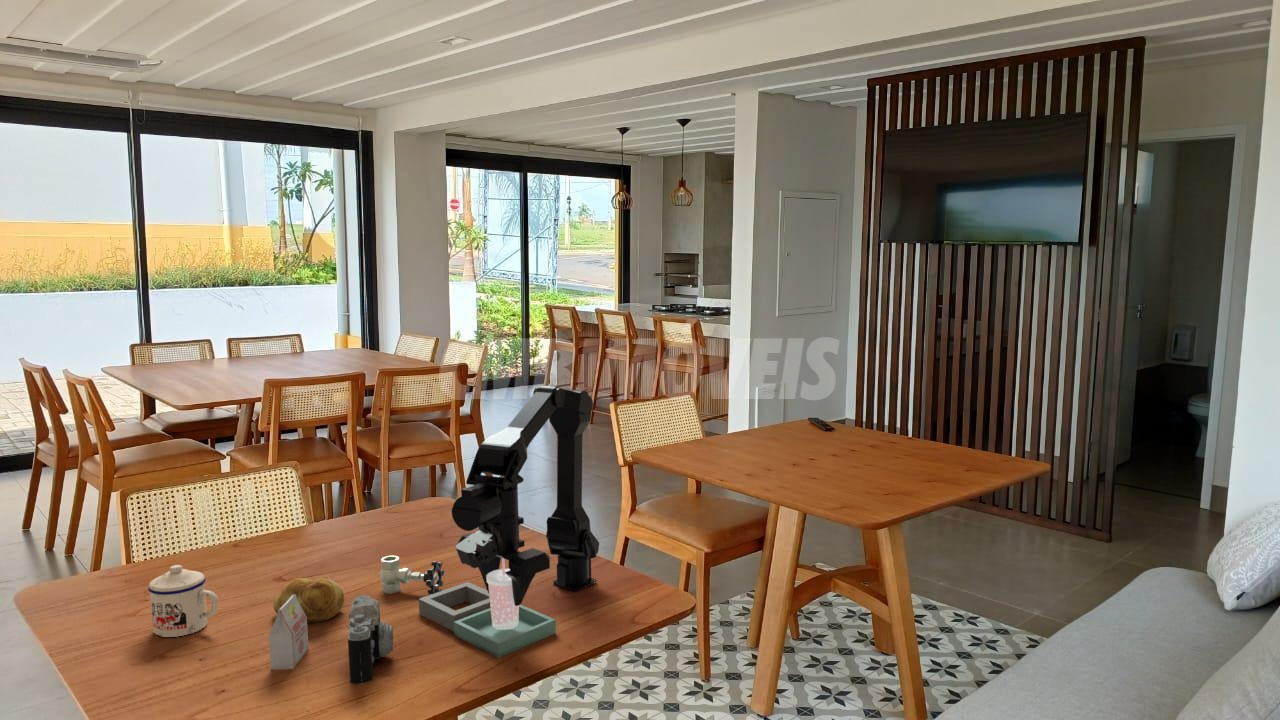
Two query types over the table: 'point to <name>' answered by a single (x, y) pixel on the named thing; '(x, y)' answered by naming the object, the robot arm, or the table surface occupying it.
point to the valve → (408, 575)
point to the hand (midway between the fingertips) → (504, 599)
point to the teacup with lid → (180, 602)
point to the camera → (366, 638)
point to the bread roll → (313, 598)
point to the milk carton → (288, 636)
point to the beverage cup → (502, 599)
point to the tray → (504, 631)
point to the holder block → (440, 602)
